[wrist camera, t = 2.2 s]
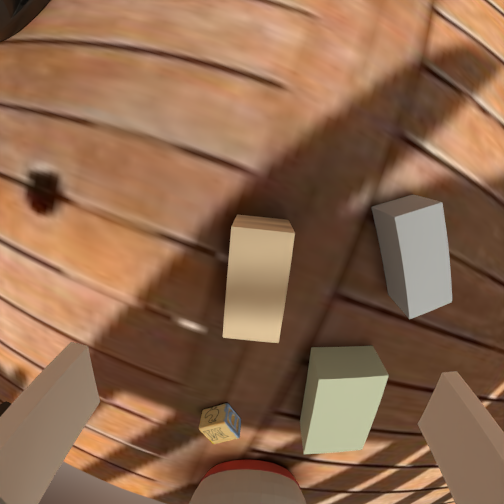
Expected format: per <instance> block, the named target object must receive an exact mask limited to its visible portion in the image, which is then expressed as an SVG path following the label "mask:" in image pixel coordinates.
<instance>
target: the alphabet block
mask: <svg viewBox="0 0 504 504" xmlns="http://www.w3.org/2000/svg"><path fill="white" fill-rule="evenodd" d="M240 427H241V418H240V417H239V416H238V415H237V414H236V412H235V411H234V410H233V409H232V407H231V406H230V405H229V404H228V403H226V404H222V405H219V406H215V407H212V408H208V409H204V410H203V411H202V415H201V420H200V425H199V430H200V431H201V432H202V433H203V434H204V435H205V436H206V437H207V438H208V439H209V440H210V441H211V442H212V443H213V444H217V443H221V442H226V441H230V440H234V439H238V438H239V437H240Z"/></svg>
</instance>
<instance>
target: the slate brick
mask: <svg viewBox="0 0 504 504" xmlns="http://www.w3.org/2000/svg"><path fill="white" fill-rule="evenodd" d="M371 209H372V213H373V217H374V222H375V226H376V231H377V236H378V240H379V245H380V251H381V256H382V261H383V267H384V272H385V278H386V284H387V291H388V295H389V296H390V297H391V298H392V299H393V301H394V302H395V303H396V304H397V305H398V306H399V307H400V309H401V310H402V311H403V312H404V313H405V314H406V316H407V317H408V318H409V319H411V318H414V317H417V316H419V315H422V314H424V313H427V312H429V311H432V310H434V309H437V308H439V307H441V306H444V305H446V304H448V303H451V302H452V287H451V272H450V259H449V249H448V240H447V232H446V225H445V218H444V211H443V205H442V202H439V201H435V200H432V199H428V198H424V197H421V196H417V195H409V196H406V197H402V198H399V199H396V200H392V201H389V202H386V203H382V204H379V205H375V206H372V207H371Z"/></svg>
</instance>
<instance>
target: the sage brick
mask: <svg viewBox="0 0 504 504" xmlns="http://www.w3.org/2000/svg"><path fill="white" fill-rule="evenodd" d="M388 376H389V375H388V373H387V371H386V369H385V368H384V366H383V364H382V362H381V360H380V358H379V356H378V355H377V353H376V351H375V349H374V347H373V346H351V347H311V353H310V360H309V367H308V374H307V381H306V387H305V394H304V400H303V406H302V412H301V418H300V427H301V436H302V444H303V453H304V454H319V453H333V452H344V451H354V450H362V448H363V446H364V444H365V441H366V439H367V436H368V433H369V431H370V428H371V426H372V423H373V420H374V418H375V415H376V412H377V409H378V406H379V403H380V401H381V398H382V395H383V391H384V388H385V385H386V382H387V379H388Z"/></svg>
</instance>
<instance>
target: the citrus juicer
mask: <svg viewBox="0 0 504 504" xmlns="http://www.w3.org/2000/svg"><path fill="white" fill-rule="evenodd" d="M189 504H306V501H305V499H304V496H303V494H302V492H301V489H300V486H299V484H298V483H297V481H296V480H295V478H294V477H293V475H292V474H291V473H290V472H289V471H288V470H287V469H285V468H284V467H282V466H279V465H277V464H275V463H270V462H266V461H260V460H234V461H228V462H224V463H221V464H218V465H216V466H214V467H213V468H211V469H210V470H209V471H208V472H207V474H206V475H205V476H204V477H203V478H202V480H201V481H200V483H199V485H198V487H197V489H196V491H195V492H194V494H193V496H192V499H191V501H190V503H189Z"/></svg>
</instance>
